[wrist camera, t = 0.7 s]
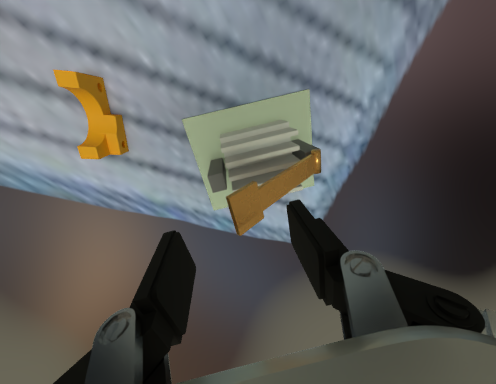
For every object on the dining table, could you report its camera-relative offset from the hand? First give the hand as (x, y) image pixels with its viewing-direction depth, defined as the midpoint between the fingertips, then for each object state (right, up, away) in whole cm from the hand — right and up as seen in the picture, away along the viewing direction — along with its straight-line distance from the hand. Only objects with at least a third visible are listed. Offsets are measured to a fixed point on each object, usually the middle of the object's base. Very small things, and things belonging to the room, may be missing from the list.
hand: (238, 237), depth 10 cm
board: (+2, +10, +28) cm, 30 cm away
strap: (+5, +4, +14) cm, 16 cm away
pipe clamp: (-24, +16, +22) cm, 37 cm away
